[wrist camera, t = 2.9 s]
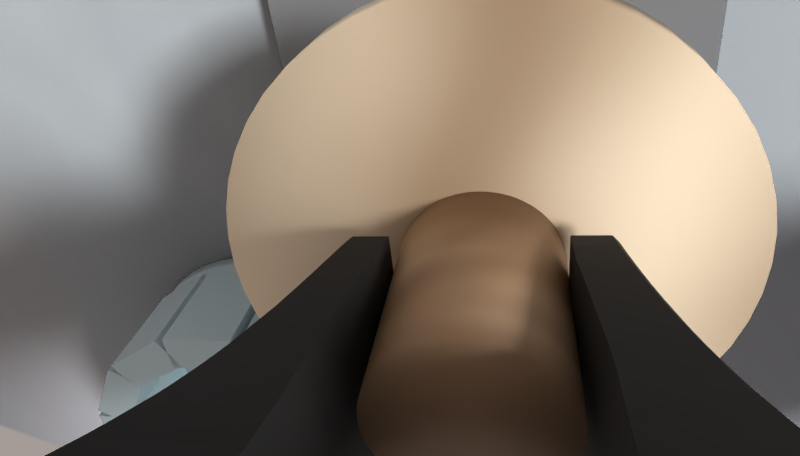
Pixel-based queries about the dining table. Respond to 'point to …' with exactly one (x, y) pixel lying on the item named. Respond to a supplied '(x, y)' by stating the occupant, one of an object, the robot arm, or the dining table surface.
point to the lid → (500, 201)
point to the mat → (668, 3)
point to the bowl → (178, 336)
